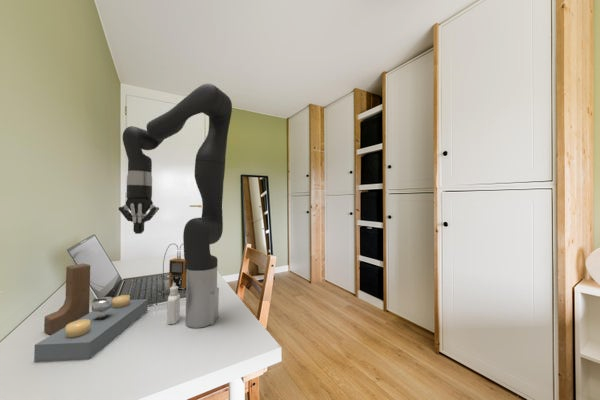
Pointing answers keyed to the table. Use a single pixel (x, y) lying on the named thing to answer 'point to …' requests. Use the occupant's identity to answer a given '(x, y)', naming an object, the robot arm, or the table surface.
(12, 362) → the table surface
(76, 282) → the wooden block
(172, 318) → the eye dropper bottle
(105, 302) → the dial middle
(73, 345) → the panel
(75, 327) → the knob left
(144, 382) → the table surface
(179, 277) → the multimeter
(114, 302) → the knob right
